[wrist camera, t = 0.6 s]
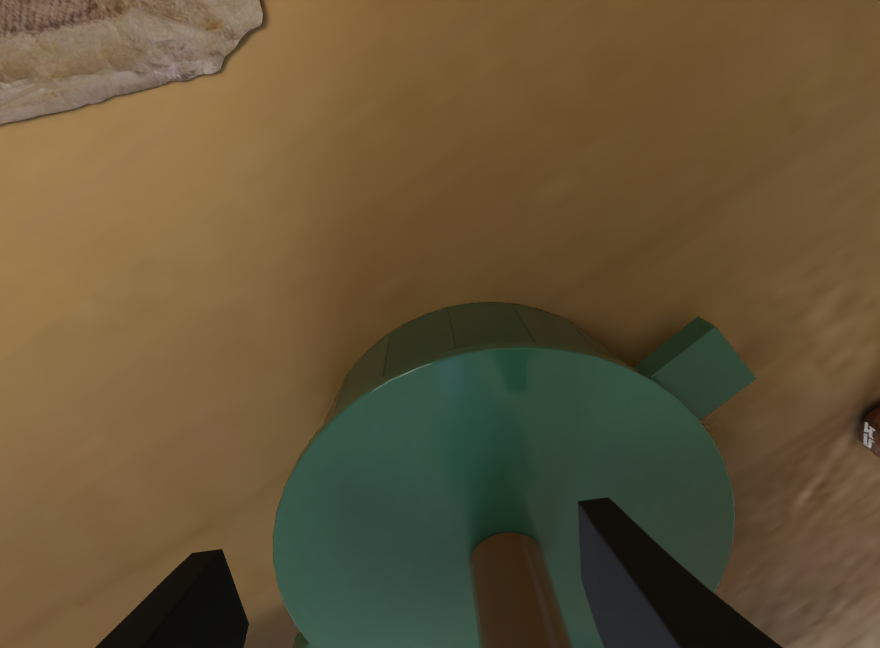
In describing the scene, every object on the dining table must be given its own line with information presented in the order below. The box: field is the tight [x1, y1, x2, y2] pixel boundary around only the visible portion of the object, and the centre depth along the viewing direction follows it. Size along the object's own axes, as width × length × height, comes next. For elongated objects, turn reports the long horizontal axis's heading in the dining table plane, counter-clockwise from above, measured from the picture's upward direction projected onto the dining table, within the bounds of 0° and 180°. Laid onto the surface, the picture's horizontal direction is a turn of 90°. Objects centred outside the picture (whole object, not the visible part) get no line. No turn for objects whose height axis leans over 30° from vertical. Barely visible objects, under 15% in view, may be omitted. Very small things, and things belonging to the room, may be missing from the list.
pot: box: [293, 302, 756, 648], centre depth 18 cm, size 14×19×6 cm
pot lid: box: [273, 341, 735, 648], centre depth 14 cm, size 15×15×5 cm
